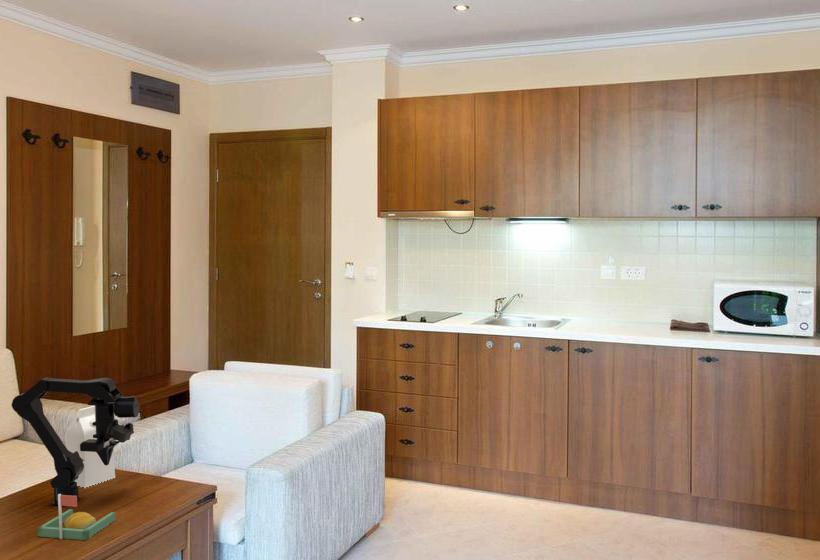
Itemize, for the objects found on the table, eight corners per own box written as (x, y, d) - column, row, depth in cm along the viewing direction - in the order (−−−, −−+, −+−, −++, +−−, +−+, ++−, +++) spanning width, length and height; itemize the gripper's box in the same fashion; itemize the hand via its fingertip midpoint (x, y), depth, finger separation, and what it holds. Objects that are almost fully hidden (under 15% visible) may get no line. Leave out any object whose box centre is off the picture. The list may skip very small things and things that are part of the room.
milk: (94, 472, 260) (92, 402, 258) (115, 477, 254) (112, 406, 252) (64, 482, 250) (61, 409, 248) (85, 488, 244) (82, 413, 242)
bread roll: (71, 536, 206) (71, 522, 205) (61, 527, 212) (60, 513, 212) (100, 527, 212) (100, 514, 211) (89, 519, 218) (88, 506, 218)
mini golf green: (36, 537, 204) (34, 493, 203) (69, 517, 219) (68, 475, 218) (84, 541, 201) (82, 496, 201) (115, 520, 216) (114, 478, 215)
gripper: (110, 426, 219) (112, 476, 220) (143, 411, 238) (145, 457, 239) (77, 425, 221) (79, 474, 222) (113, 410, 240) (114, 455, 241)
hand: (106, 465), depth 231 cm, fingers closed
